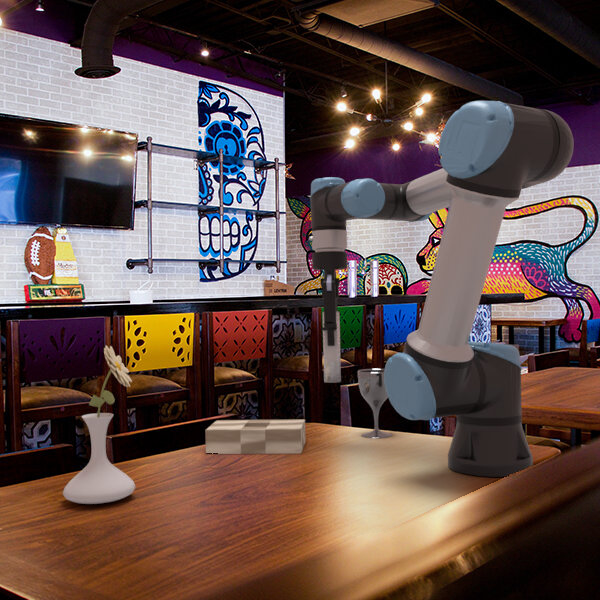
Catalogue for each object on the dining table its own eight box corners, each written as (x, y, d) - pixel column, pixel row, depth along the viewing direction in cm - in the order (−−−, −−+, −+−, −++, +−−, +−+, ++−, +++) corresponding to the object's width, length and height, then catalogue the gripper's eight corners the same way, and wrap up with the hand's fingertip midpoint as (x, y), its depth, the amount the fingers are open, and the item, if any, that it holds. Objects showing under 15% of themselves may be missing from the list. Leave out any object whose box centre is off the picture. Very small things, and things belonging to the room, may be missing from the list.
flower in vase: (108, 512, 108) (104, 349, 108) (47, 507, 112) (43, 349, 112) (154, 490, 121) (150, 343, 121) (98, 486, 125) (94, 343, 125)
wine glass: (353, 437, 163) (352, 371, 163) (367, 431, 170) (365, 368, 170) (386, 439, 159) (384, 372, 159) (398, 433, 166) (397, 369, 166)
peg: (340, 382, 151) (339, 311, 151) (323, 382, 151) (322, 312, 151) (341, 380, 154) (339, 311, 154) (324, 380, 154) (323, 311, 154)
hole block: (301, 453, 147) (300, 429, 147) (205, 454, 149) (205, 430, 149) (305, 441, 159) (304, 419, 159) (217, 442, 161) (216, 420, 161)
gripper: (314, 254, 161) (317, 357, 161) (309, 249, 145) (311, 364, 145) (347, 253, 160) (350, 356, 160) (346, 248, 144) (348, 363, 144)
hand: (332, 360), depth 153 cm, fingers closed on peg, 3 cm apart
